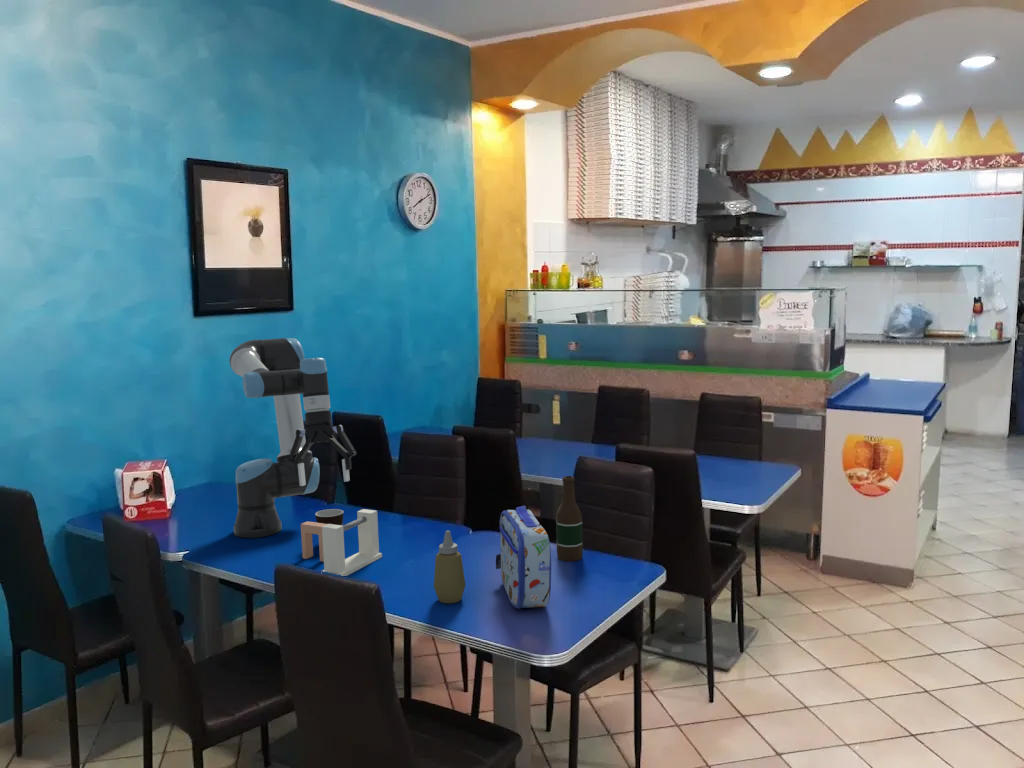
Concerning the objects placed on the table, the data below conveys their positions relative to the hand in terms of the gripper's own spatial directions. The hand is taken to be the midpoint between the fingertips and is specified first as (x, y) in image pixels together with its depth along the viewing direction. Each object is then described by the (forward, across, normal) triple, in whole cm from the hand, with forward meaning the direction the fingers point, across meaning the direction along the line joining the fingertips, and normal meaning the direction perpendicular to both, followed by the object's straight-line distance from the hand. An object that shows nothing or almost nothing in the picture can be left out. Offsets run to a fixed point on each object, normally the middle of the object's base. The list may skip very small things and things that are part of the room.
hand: (324, 483), depth 242 cm
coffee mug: (+20, -7, +19) cm, 28 cm away
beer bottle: (+29, +68, +12) cm, 75 cm away
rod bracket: (+24, +6, -1) cm, 25 cm away
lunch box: (+33, +58, -18) cm, 69 cm away
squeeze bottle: (+31, +40, -23) cm, 56 cm away
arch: (+22, -7, +4) cm, 23 cm away
